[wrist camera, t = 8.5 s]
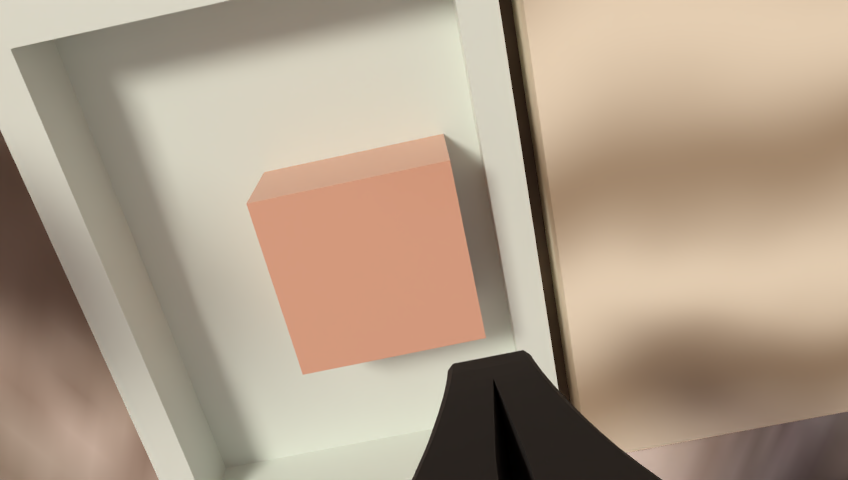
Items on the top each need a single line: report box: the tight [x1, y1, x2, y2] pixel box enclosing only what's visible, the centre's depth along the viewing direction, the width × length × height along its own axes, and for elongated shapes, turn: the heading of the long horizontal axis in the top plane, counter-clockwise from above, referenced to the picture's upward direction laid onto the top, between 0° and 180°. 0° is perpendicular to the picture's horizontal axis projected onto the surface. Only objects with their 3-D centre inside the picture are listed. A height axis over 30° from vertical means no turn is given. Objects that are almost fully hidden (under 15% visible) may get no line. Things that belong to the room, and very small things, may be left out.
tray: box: [0, 0, 559, 480], centre depth 19 cm, size 16×12×2 cm
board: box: [511, 0, 848, 453], centre depth 19 cm, size 16×12×2 cm
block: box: [246, 134, 486, 375], centre depth 19 cm, size 5×5×2 cm
